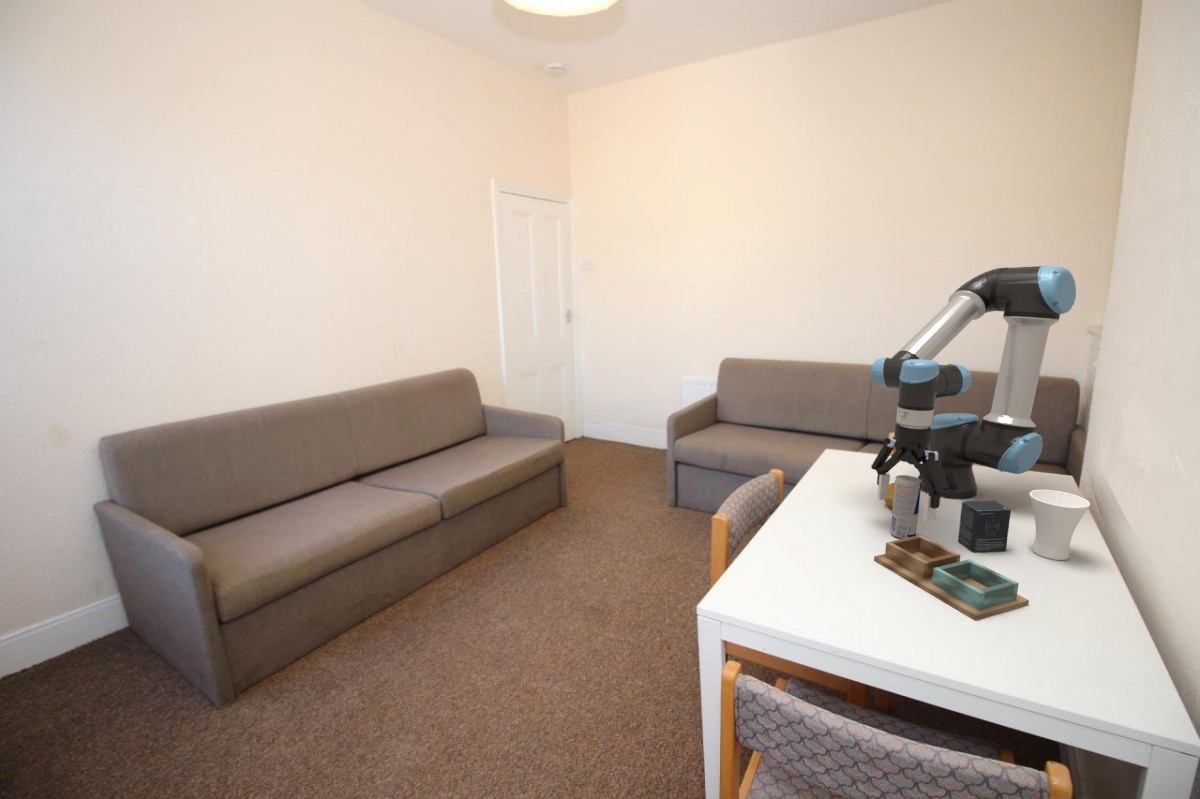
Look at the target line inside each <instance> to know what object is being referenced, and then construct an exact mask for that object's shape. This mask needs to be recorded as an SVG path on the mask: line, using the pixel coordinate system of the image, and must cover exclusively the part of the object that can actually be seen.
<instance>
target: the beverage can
mask: <svg viewBox="0 0 1200 799" xmlns="http://www.w3.org/2000/svg"><path fill="white" fill-rule="evenodd" d="M894 479H895V480H894V483H895V486H894V496H893V507H892V508H891V509H892V510H891V519H890V531H889V532H890V534H891V535H892V536H894V537H896V538H897V539H905V538H909V537H914V536H917V532H918V531H917V529H918V519H919V511H920V503H921V502H920V500H921V491H922V490H921V480H920V479H919V478H918V477H916V476H912V475H905V474H899V475H896V476H895V478H894Z"/></svg>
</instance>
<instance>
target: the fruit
mask: <svg viewBox="0 0 1200 799" xmlns="http://www.w3.org/2000/svg"><path fill="white" fill-rule="evenodd" d="M894 486H895V482H892V483H889V492H888V499H883V500H884V502H885V503H886V504H887V506H888V507H890V508H891V509H892V507H893V496H894Z"/></svg>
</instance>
